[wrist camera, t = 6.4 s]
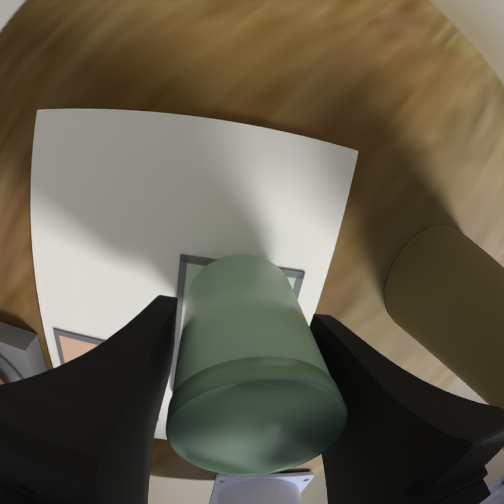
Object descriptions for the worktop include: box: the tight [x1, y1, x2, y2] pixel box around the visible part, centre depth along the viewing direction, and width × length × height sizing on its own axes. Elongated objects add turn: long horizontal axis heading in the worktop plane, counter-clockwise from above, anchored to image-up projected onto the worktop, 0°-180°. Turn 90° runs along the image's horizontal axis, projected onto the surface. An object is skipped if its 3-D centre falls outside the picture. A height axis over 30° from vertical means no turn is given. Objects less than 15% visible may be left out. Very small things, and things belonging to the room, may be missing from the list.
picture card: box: [31, 109, 359, 440], centre depth 13 cm, size 18×13×1 cm
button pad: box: [0, 322, 47, 384], centre depth 13 cm, size 7×7×2 cm
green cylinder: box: [166, 255, 348, 476], centre depth 9 cm, size 4×4×7 cm
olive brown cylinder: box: [384, 225, 504, 450], centre depth 9 cm, size 6×6×11 cm
